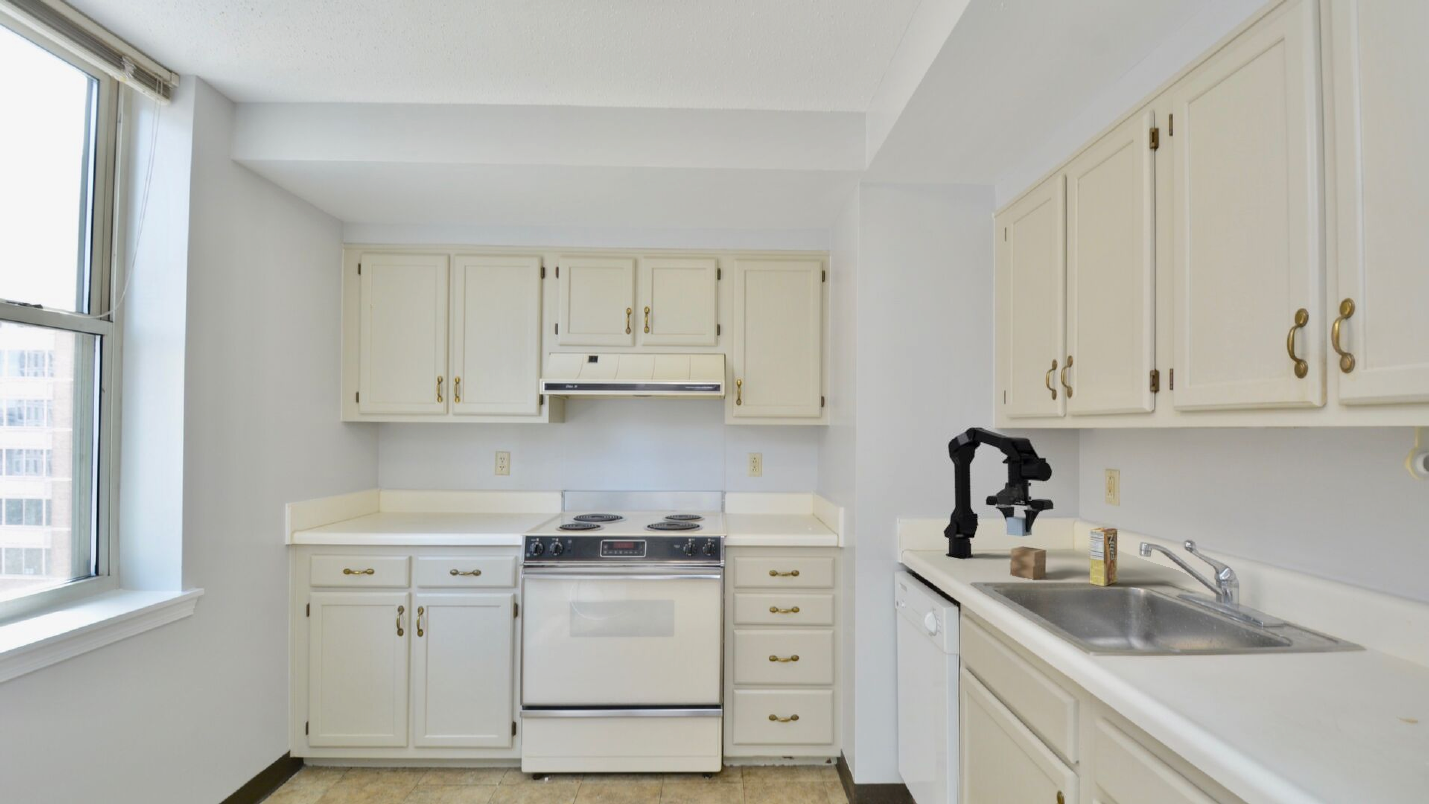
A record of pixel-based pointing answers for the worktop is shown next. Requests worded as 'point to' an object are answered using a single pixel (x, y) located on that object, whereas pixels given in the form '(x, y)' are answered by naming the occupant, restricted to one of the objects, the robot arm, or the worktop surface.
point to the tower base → (1028, 571)
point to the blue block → (1017, 526)
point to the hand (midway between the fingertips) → (1019, 531)
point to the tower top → (1028, 556)
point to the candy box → (1103, 556)
